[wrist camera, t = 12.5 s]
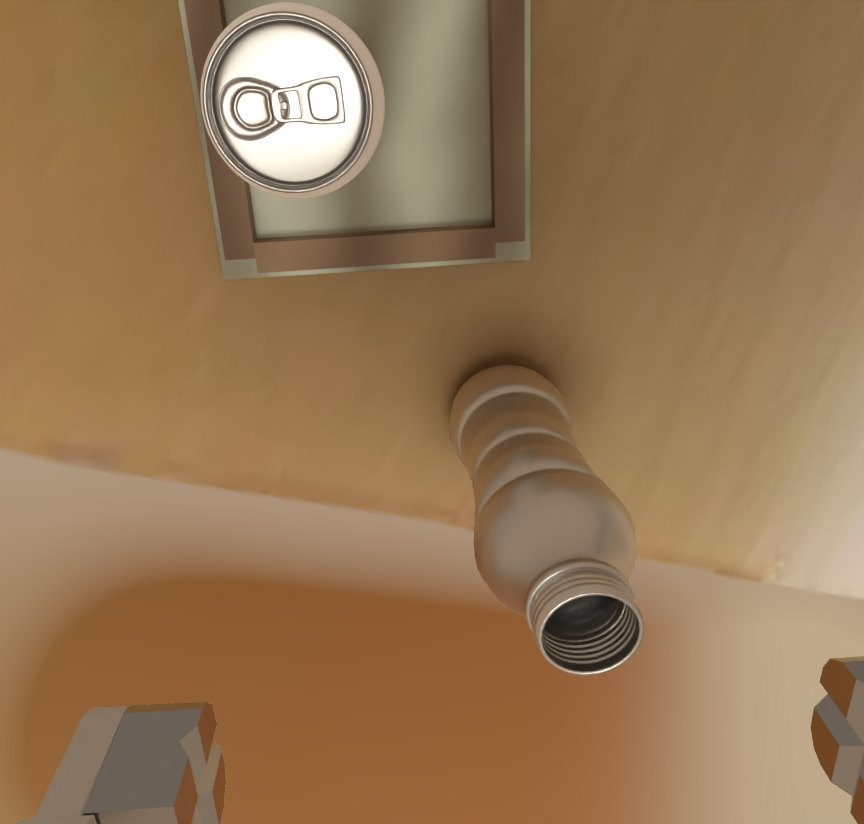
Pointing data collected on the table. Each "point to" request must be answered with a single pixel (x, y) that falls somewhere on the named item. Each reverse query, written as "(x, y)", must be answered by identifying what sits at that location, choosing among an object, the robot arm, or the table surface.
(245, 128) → the can
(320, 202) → the wooden picture frame
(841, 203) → the table surface
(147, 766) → the robot arm
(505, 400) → the plastic bottle
